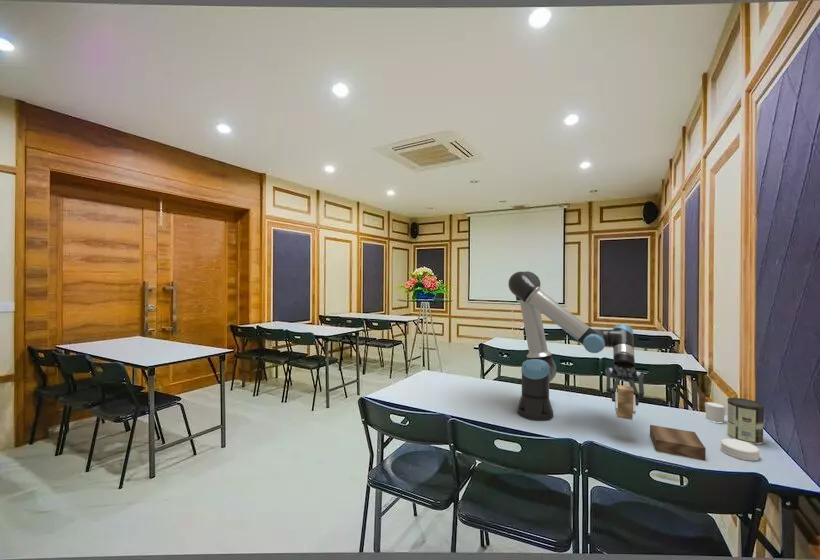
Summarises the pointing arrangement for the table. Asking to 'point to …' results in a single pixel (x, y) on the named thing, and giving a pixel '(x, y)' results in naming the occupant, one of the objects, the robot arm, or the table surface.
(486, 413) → the table surface
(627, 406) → the oak block
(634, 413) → the robot arm
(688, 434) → the walnut block
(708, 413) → the white tapered cup
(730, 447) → the coaster
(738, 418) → the coffee can
